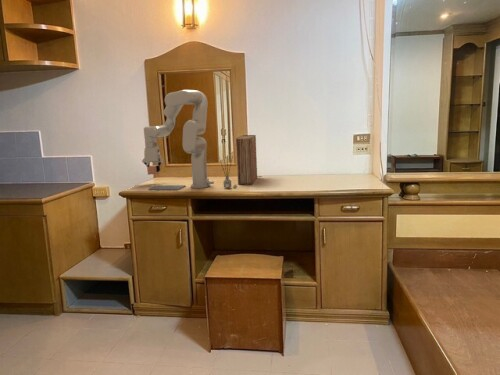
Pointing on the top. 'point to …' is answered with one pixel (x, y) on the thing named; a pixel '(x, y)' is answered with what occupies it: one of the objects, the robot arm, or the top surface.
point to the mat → (167, 187)
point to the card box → (152, 170)
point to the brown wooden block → (246, 159)
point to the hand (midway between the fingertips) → (153, 171)
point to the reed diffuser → (227, 177)
